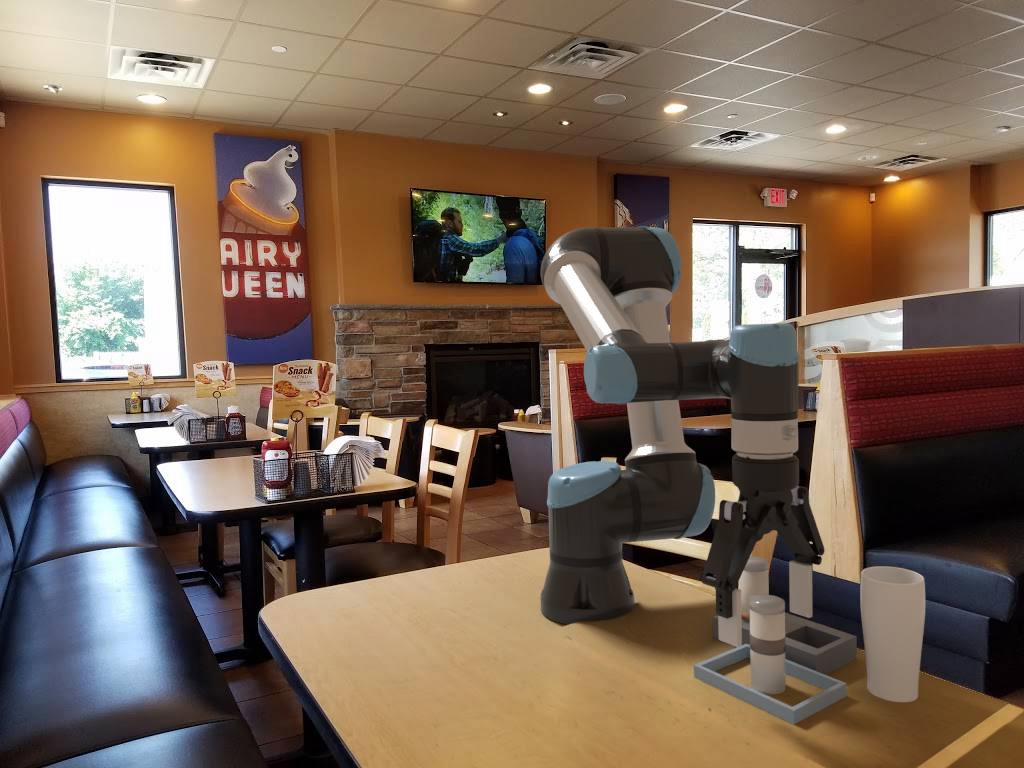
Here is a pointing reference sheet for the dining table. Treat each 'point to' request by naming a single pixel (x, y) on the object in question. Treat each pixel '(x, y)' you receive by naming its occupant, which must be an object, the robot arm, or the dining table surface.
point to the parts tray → (795, 714)
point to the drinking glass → (892, 630)
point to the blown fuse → (767, 644)
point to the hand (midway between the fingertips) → (767, 628)
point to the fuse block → (810, 644)
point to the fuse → (753, 583)
